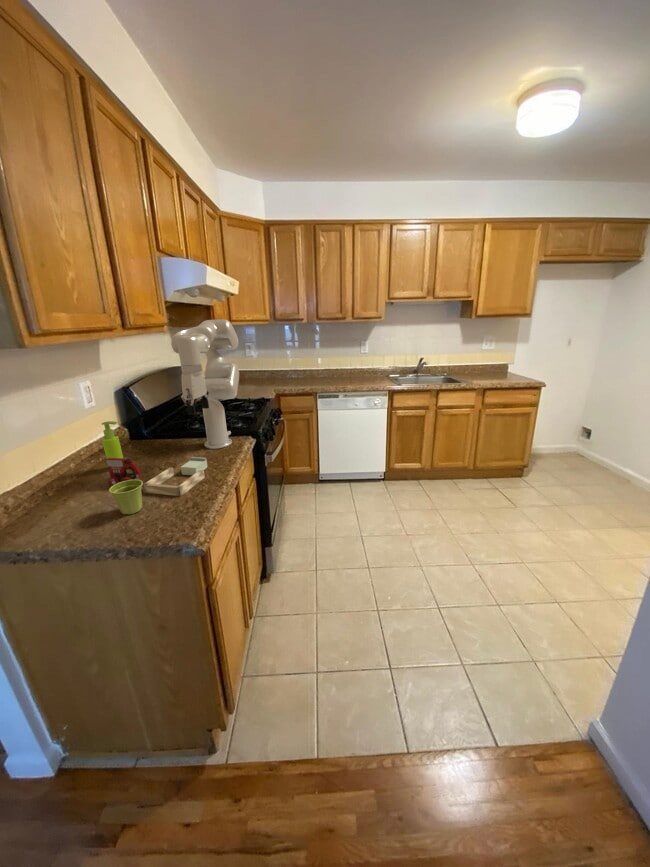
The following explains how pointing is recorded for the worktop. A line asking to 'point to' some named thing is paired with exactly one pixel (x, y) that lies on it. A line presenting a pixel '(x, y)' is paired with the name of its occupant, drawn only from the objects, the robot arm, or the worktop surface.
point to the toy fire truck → (123, 470)
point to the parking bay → (158, 488)
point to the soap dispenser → (111, 442)
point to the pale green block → (194, 465)
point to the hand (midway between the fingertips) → (198, 411)
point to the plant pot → (128, 495)
